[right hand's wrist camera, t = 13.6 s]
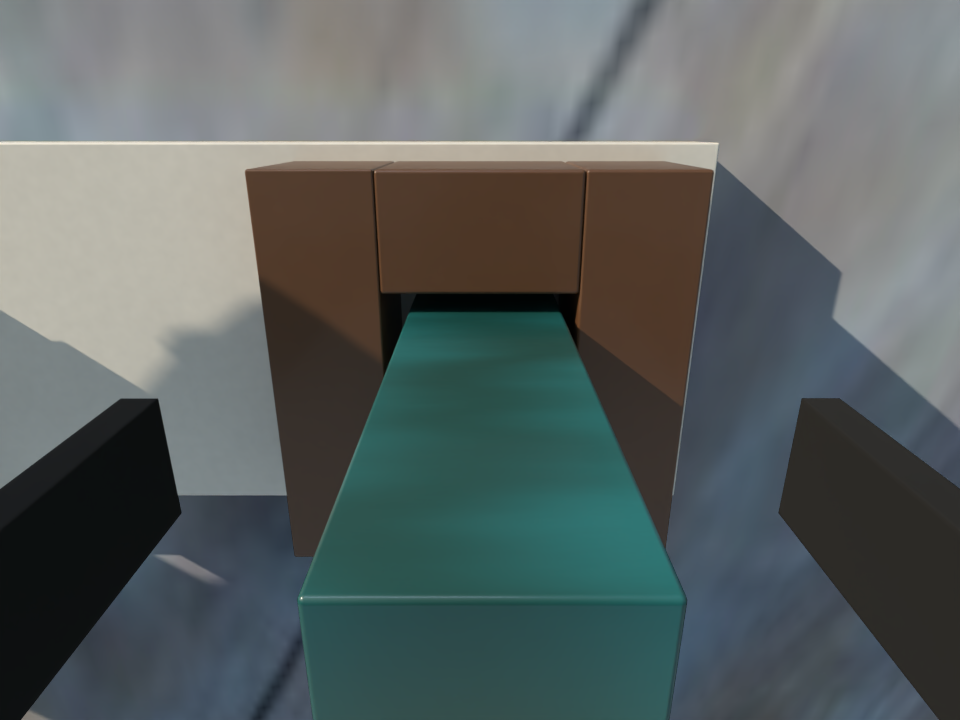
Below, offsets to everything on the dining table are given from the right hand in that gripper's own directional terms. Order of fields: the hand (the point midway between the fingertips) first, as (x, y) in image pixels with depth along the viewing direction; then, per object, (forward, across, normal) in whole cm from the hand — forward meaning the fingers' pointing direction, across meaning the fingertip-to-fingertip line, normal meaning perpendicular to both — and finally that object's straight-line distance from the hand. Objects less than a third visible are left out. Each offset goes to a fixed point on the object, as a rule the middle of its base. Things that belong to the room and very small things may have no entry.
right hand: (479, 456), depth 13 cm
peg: (+8, 0, 0) cm, 8 cm away
